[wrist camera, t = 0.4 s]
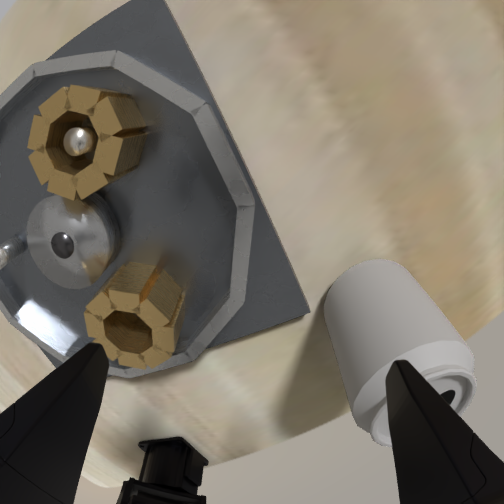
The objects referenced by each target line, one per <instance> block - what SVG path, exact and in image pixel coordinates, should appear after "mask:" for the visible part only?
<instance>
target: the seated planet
mask: <svg viewBox="0 0 504 504" xmlns="http://www.w3.org/2000/svg"><path fill="white" fill-rule="evenodd" d="M127 97H128V94H125V93H121V92H117V91H113V90H109V89H104V88H98V87H90V86H81V85H71V86H70V87H62V88H61V89H60V90H58V91H57V92H56V93H55V94H53V95H52V96H51V97H50V98H49V99H47V100H46V101H45V102H44V103H43V104H41V105H40V106H39V110H40V112H41V114H37V115H34V117H33V122H32V126H31V131H30V136H29V141H28V147H27V148H29V149H32V150H35V151H34V152H33V153H32V154H31V155H30V156H28V157H29V160H30V162H31V164H32V166H33V168H34V171H35V173H36V175H37V177H38V179H39V181H40V183H41V185H44V184H46V183H48V189H47V191H49V192H51V193H54V194H57V195H60V196H62V197H65V198H68V199H70V200H73V201H75V200H76V199H78V198H81V200H82V199H84V198H86V197H88V196H89V195H91V194H93V193H95V192H97V191H99V190H100V189H102V188H104V187H106V186H108V185H110V184H111V183H113V182H115V181H116V180H118V179H120V178H121V177H123V176H125V175H127V174H128V173H130V172H132V171H133V168H132V167H133V166H135V165H138V164H139V161H140V157H141V154H142V151H143V147H144V144H145V141H146V137H147V134H146V133H142V132H139V130H141V129H142V128H144V127H146V126H147V125H146V123H145V121H144V119H143V117H142V115H141V112H140V110H139V108H138V106H137V104H136V102H135V100H134V99H129V98H127ZM88 117H89V118H90V120H91V122H92V124H93V126H94V128H95V131H96V133H97V135H98V137H99V139H98V143H97V147H96V151H95V155H94V159H93V160H90V159H87V158H86V156H85V154H81V155H78V156H71V155H69V154H68V153H67V152H66V150H65V148H64V143H63V142H64V137H65V135H66V133H67V132H68V131H69V130H70V129H72V128H77V127H82V124H83V120H85V119H86V118H88Z"/></svg>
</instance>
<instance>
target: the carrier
mask: <svg viewBox="0 0 504 504" xmlns="http://www.w3.org/2000/svg"><path fill="white" fill-rule="evenodd" d="M71 85H81V86H90V87H98V88H104V89H109V90H113V91H117V92H121V93H125V94H128V97H127V98H129V99H134V100H135V102H136V104H137V106H138V108H139V110H140V112H141V115H142V117H143V119H144V121H145V123H146V125H147V126H146V127H144V128H142V129H141V130H139V132H142V133H146V134H147V137H146V141H145V144H144V147H143V151H142V154H141V157H140V161H139V164H138V165H135V166H133V167H132V168H133V171H132V172H130V173H128V174H127V175H125V176H123V177H121V178H120V179H118V180H116V181H115V182H113V183H111V184H110V185H108V186H106V187H104V188H102V189H100V190H99V191H97V192H95V193H97V194H99V195H100V196H101V197H102V198H103V199H104V200H105V201H106V202H107V203H108V204H109V206H110V207H111V209H112V210H113V212H114V214H115V216H116V218H117V221H118V224H119V229H120V247H119V251H118V253H117V256H116V258H115V259H114V261H113V262H112V263H111V264H110V266H109V267H108V268H107V269H106V270H105V271H104V272H103V274H102V275H101V276H100V277H99V278H98V280H97V281H96V282H94V283H93V284H92V285H90V286H88V287H86V288H82V289H68V288H65V287H62V286H59V285H57V284H56V283H54V282H52V281H51V280H50V279H48V278H47V277H46V276H45V275H44V274H43V273H42V272H41V270H40V269H39V268H38V267H37V265H36V263H35V262H34V260H33V258H32V256H31V253H30V250H29V247H28V243H27V223H28V219H29V216H30V214H31V212H32V210H33V208H34V207H35V206H36V205H37V204H38V203H39V202H40V201H42V200H43V199H45V198H47V197H49V196H51V195H53V194H54V193H51V192H49V191H47V189H48V183H46V184H44V185H41V183H40V181H39V179H38V177H37V175H36V173H35V171H34V168H33V166H32V164H31V162H30V160H29V157H28V156H30V155H31V154H32V153H33V152H34V151H35V150H32V149H29V148H27V147H28V141H29V136H30V131H31V126H32V122H33V117H34V115H37V114H41V112H40V110H39V106H40V105H41V104H43V103H44V102H45V101H46V100H47V99H49V98H50V97H51V96H52V95H53V94H55V93H56V92H57V91H58V90H60V89H61V88H62V87H70V86H71ZM98 139H99V137H98V135H97V133H96V131H95V128H94V126H93V124H92V122H91V120H90V118H89V117H88V118H86V119H85V120H83V124H82V127H77V128H72V129H70V130H69V131H68V132H67V133H66V135H65V137H64V142H63V143H64V148H65V150H66V152H67V153H68V154H69V155H71V156H78V155H81V154H85V156H86V158H87V159H90V160H93V159H94V155H95V151H96V147H97V143H98ZM129 262H135V263H143V264H151V265H157V273H158V272H160V271H161V270H162V269H164V270H165V271H166V272H167V273H168V274H169V275H170V276H171V277H172V278H173V280H174V281H175V282H176V283H177V284H178V285H179V286H180V287H181V288H182V292H181V294H180V295H185V319H184V322H183V325H182V328H181V331H180V335H179V338H178V341H177V344H176V348H175V351H174V352H173V353H172V356H171V358H169V359H168V360H166V361H165V362H163V363H161V364H160V365H158V366H156V367H155V368H153V369H151V368H150V367H149V366H148V365H147V367H146V370H144V369H139V368H133V367H128V366H123V365H119V361H118V358H117V359H115V360H114V361H112V360H111V359H109V358H108V359H109V370H108V374H107V377H108V376H112V375H115V376H120V377H124V378H133V377H137V376H141V375H145V374H149V373H153V372H156V371H160V370H164V369H167V368H171V367H174V366H178V365H181V364H185V363H188V362H192V361H194V360H196V358H197V357H198V356H199V355H200V354H201V353H202V352H203V350H204V349H207V348H210V347H213V346H216V345H219V344H222V343H225V342H228V341H231V340H234V339H237V338H240V337H243V336H246V335H249V334H252V333H255V332H258V331H261V330H263V329H266V328H269V327H272V326H275V325H277V324H280V323H283V322H286V321H288V320H291V319H294V318H297V317H299V316H302V315H305V314H307V313H310V309H309V305H308V303H307V300H306V298H305V296H304V293H303V291H302V289H301V286H300V284H299V282H298V279H297V277H296V275H295V273H294V270H293V268H292V266H291V263H290V261H289V259H288V256H287V254H286V252H285V250H284V247H283V245H282V243H281V241H280V238H279V236H278V234H277V232H276V229H275V227H274V225H273V223H272V220H271V218H270V216H269V214H268V212H267V209H266V207H265V205H264V203H263V201H262V198H261V196H260V194H259V192H258V190H257V187H256V185H255V183H254V181H253V179H252V177H251V174H250V172H249V170H248V168H247V166H246V164H245V161H244V159H243V157H242V155H241V153H240V151H239V149H238V147H237V144H236V142H235V140H234V138H233V136H232V134H231V132H230V130H229V128H228V125H227V123H226V121H225V119H224V117H223V115H222V113H221V111H220V109H219V107H218V105H217V103H216V100H215V98H214V96H213V94H212V92H211V90H210V88H209V86H208V84H207V82H206V80H205V78H204V76H203V74H202V72H201V70H200V68H199V66H198V64H197V62H196V60H195V58H194V56H193V54H192V52H191V50H190V48H189V46H188V44H187V42H186V40H185V38H184V36H183V34H182V32H181V30H180V28H179V26H178V24H177V22H176V20H175V18H174V17H173V15H172V13H171V11H170V9H169V7H168V5H167V3H166V1H165V0H131V1H129V2H127V3H126V4H124V5H122V6H121V7H119V8H117V9H116V10H114V11H112V12H111V13H109V14H108V15H106V16H105V17H103V18H102V19H100V20H99V21H97V22H96V23H94V24H93V25H91V26H90V27H88V28H87V29H86V30H84V31H83V32H81V33H80V34H79V35H77V36H76V37H75V38H73V39H72V40H71V41H69V42H68V43H67V44H65V45H64V46H63V47H61V48H60V49H59V50H58V51H56V52H55V53H54V54H53V55H52V56H50V57H49V58H48V59H47V60H46V61H42V62H37V63H34V64H32V65H31V66H30V67H28V68H27V69H26V70H25V71H24V72H23V73H22V74H21V75H20V76H19V77H18V78H17V79H16V80H15V81H14V82H13V83H12V84H11V85H10V86H9V87H8V88H7V89H6V90H5V91H4V92H3V93H2V94H1V95H0V310H1V311H2V313H3V314H4V316H5V317H6V319H7V320H8V322H10V324H11V325H13V326H14V327H15V328H16V329H18V330H19V331H20V332H21V333H23V334H24V335H25V336H27V337H28V338H29V339H31V340H32V341H33V342H35V343H36V344H37V345H38V346H39V347H40V349H41V350H42V351H43V353H44V354H45V355H46V356H47V358H48V359H49V360H50V361H51V362H52V364H53V365H54V366H55V367H56V368H57V367H59V366H60V365H61V364H62V363H64V362H65V361H66V360H67V359H69V358H70V357H71V356H73V355H74V354H75V353H76V352H78V351H79V350H80V349H81V348H83V347H84V346H85V345H86V344H88V343H90V342H92V341H93V340H94V338H93V337H88V333H87V328H86V323H85V317H84V312H85V310H86V309H87V308H86V305H87V304H88V303H89V301H90V300H91V299H92V298H93V296H94V295H95V294H96V292H97V291H98V290H99V289H100V287H101V286H102V285H103V284H104V282H105V281H106V280H107V279H108V278H109V277H110V276H111V275H112V274H113V273H114V272H115V271H116V270H117V269H118V268H119V267H121V266H122V265H123V264H125V265H126V266H127V265H128V264H129ZM132 314H133V315H134V316H135V317H136V318H139V319H141V318H140V317H139V316H138V315H137V314H136V313H132Z"/></svg>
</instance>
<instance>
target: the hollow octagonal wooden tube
mask: <svg viewBox="0 0 504 504" xmlns="http://www.w3.org/2000/svg"><path fill="white" fill-rule="evenodd" d="M181 292H182V288H181V287H180V286H179V285H178V284H177V283H176V282H175V281H174V280H173V278H172V277H171V276H170V275H169V274H168V273H167V272H166V271H165V270H164V269H162V270H161V271H160V272H158V273H157V265H151V264H143V263H135V262H129V264H128V265H127V266H126V265H125V264H123V265H122V266H121V267H119V268H118V269H117V270H116V271H115V272H114V273H113V274H112V275H111V276H110V277H109V278H108V279H107V280H106V281H105V282H104V284H103V285H102V286H101V287H100V289H99V290H98V291H97V292H96V294H95V295H94V296H93V298H92V299H91V300H90V301H89V303H88V304H87V305H86V308H87V309H86V310H85V312H84V317H85V323H86V328H87V333H88V337H93V338H94V340H93V341H92V342H94V343H100V344H102V345H103V347H104V350H105V352H106V355H107V357H108V358H109V359H111V360H112V361H114V360H115V359H117V358H118V361H119V365H123V366H128V367H133V368H139V369H144V370H146V367H147V365H148V366H149V367H150V368H151V369H153V368H155V367H156V366H158V365H160V364H161V363H163V362H165V361H166V360H168V359H169V358H171V356H172V353H173V352H174V351H175V348H176V344H177V341H178V338H179V335H180V331H181V328H182V325H183V322H184V319H185V295H180V294H181ZM132 313H136V314H137V315H138V316H139V317H140V318H141V319H139V318H136V317H135V316H134V315H133V314H132Z"/></svg>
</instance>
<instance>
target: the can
mask: <svg viewBox="0 0 504 504" xmlns="http://www.w3.org/2000/svg"><path fill="white" fill-rule="evenodd" d="M324 319H325V322H326V325H327V329H328V332H329V335H330V339H331V342H332V345H333V349H334V352H335V355H336V359H337V362H338V366H339V369H340V373H341V376H342V380H343V383H344V387H345V390H346V394H347V397H348V401H349V405H350V408H351V412H352V416H353V418H354V420H355V422H356V424H357V426H359V427H360V428H362V429H363V430H365V431H366V432H369V433H370V434H371V437H372V439H373V441H375V442H377V443H378V444H380V445H382V446H388V447H392V443H391V437H390V431H389V424H388V411H387V398H386V386H385V379H386V375H387V373H388V371H389V369H390V367H391V365H392V363H393V362H394V361H395V360H402V359H405V360H408V361H409V362H410V363H411V364H412V365H413V366H414V368H415V369H416V370H417V371H418V372H419V373H420V374H421V375H422V376H423V377H424V378H425V379H426V380H427V381H428V382H429V383H430V384H431V386H432V387H433V388H434V389H435V390H436V391H437V392H438V393H439V394H440V395H441V396H442V397H443V398H444V400H445V401H446V402H447V403H448V404H449V405H450V406H451V407H452V408H453V409H454V410H455V412H456V413H457V414H458V415H459V416H461V415H462V414H463V413H464V411H465V410H466V409H467V407H468V406H469V405H470V403H471V401H472V399H473V397H474V394H475V392H476V383H477V380H476V379H475V377H474V375H473V372H474V356H473V354H472V352H471V350H470V348H469V347H468V345H467V344H466V342H465V341H464V340H463V338H462V337H461V336H460V335H459V333H458V332H457V331H456V329H455V328H454V327H453V325H452V324H451V323H450V322H449V320H448V319H447V318H446V316H445V315H444V314H443V313H442V311H441V310H440V309H439V308H438V306H437V305H436V304H435V303H434V301H433V300H432V299H431V298H430V297H429V295H428V294H427V293H426V292H425V291H424V289H423V288H422V287H421V286H420V285H419V283H418V282H417V281H416V280H415V279H414V277H413V276H412V275H411V274H410V273H409V272H408V270H407V269H406V268H405V267H403V266H401V265H400V264H398V263H396V262H395V261H391V260H385V259H375V260H368V261H364V262H361V263H359V264H357V265H355V266H353V267H351V268H349V269H348V270H347V271H345V272H344V273H343V274H342V275H341V276H339V277H338V278H337V279H336V281H335V282H334V284H333V285H332V287H331V288H330V289H329V291H328V293H327V296H326V300H325V303H324Z"/></svg>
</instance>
